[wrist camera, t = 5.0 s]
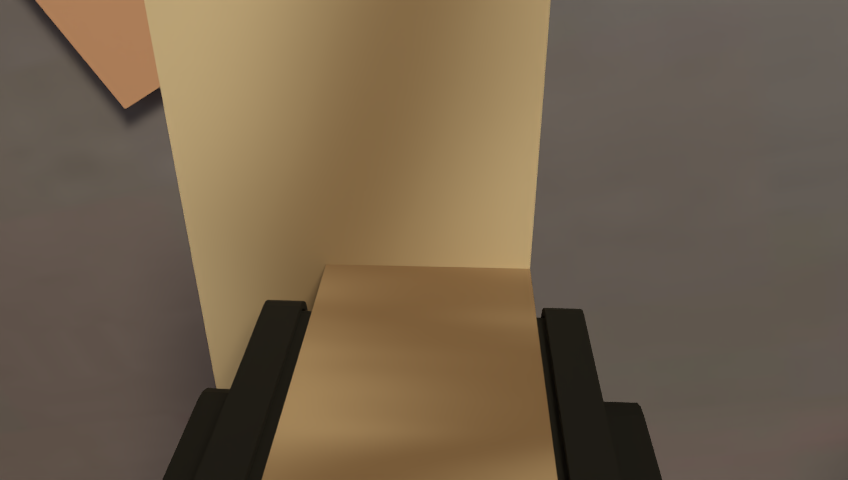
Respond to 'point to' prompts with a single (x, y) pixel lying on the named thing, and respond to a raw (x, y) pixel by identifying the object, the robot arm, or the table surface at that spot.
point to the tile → (110, 42)
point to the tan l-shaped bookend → (370, 221)
